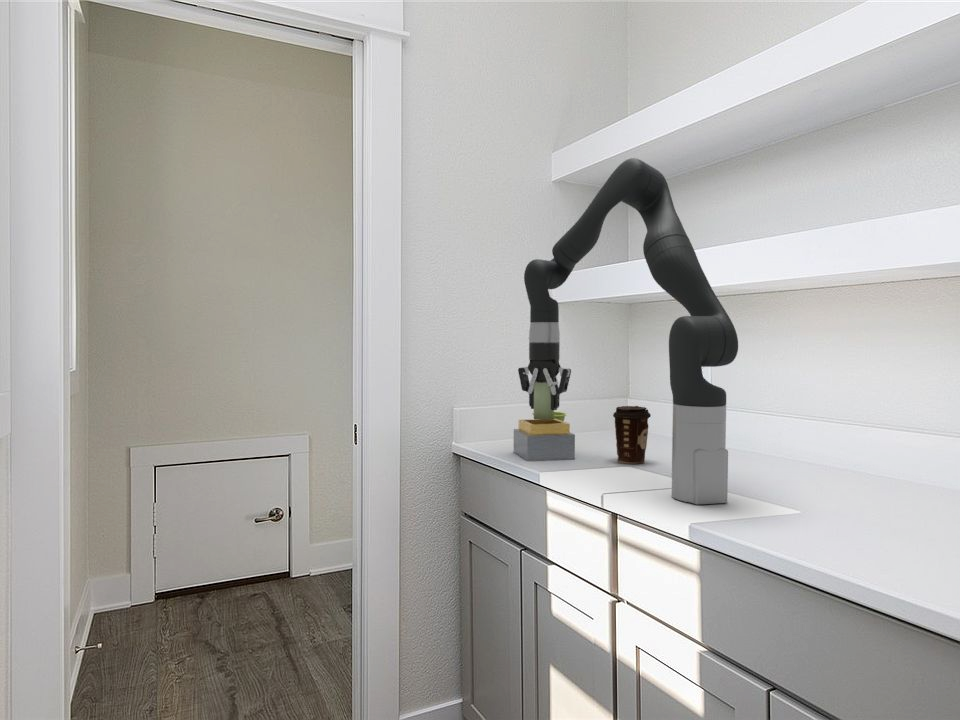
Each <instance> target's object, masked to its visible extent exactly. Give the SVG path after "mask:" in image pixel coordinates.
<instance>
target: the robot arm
mask: <svg viewBox="0 0 960 720" xmlns="http://www.w3.org/2000/svg"><path fill="white" fill-rule="evenodd" d="M621 202H622V203H624V204H626V205H628V206H629V207H631V208H633V209H634V210H636V211H637V212H638V213H639V215H640V216H641V218H642V221H643V222H644V225H645V228H646V231H647V232H646V234H645V236H644V237H645V238H644V241H643V245H642V248H643V249H642V250H643V256H644V259H645V262H646V264H647V267H648V269H649V272H650V275H651V276H652V279H653V280H654V281H655V282H656V284H657V285H658V286H659V287H660V288H661V289H662V290H663V291H664V292H666V294H668V295H670V297H672V298H673V299H674V300H675V301H677V302H678V303H679V304H680V305H682V307H684V308H685V310H686V311H687V312H688V313H689V315H684V316H680V317H677V318H676V319H675V320H674V321H673V323H672V325H671V327H670V331H669V334H668V335H669V336H668V359H669V360H668V361H669V384H670V389H671V394H672V429H671V430H672V433H671V435H672V436H671V437H672V439H671V441H672V444H671V445H672V446H671V447H672V449H671V451H672V452H671V497H672V498H673V499H675V500H678V501H681V502H685V503H691V504H694V505H710V504H711V505H712V504H727V503H728V499H729V498H728V496H729V495H728V492H729V491H728V486H729V485H728V484H729V483H728V479H729V473H728V472H729V451H728V449H727V448H726V447H727V446H726V445H727V443H726V441H727V439H726V437H727V434H726V433H727V392H726V390H725V389H724V388H723V387H721V386H717V385H715V384H713V383H710V382H709V381H708V380H707V379H706V378H705V377H704V376H703V369H702V368H704V367H705V368H706V367H707V368H708V367H709V368H715V367H723V366H728V365H730V364H732V363H733V362H734V361H735V359H736V357H737V355H738V352H739V338H738V334H737V331H736V328H735V325H734V324H733V322H732V320H731V318H730V316H729V315H728V313H727V311H726V309H725V308H724V307H723V305H722V303H721V302H720V300H719V298H718V297H717V295H716V293H715V291H714V290H713V288H712V286H711V284H710V282H709V280H708V279H707V276H706V273H705V272H704V270H703V268H702V266H701V263H700V261H699V259H698V256H697V253H696V251H695V249H694V246H693V245H692V242H691V241H690V238H689V236H688V234H687V233H686V230H685V228H684V226H683V224H682V221H681V219H680V218H679V215H678V213H677V211H676V209H675V205H674V201H673V198H672V195H671V192H670V188H669V184H668V181H667V179H666V177H665V175H664V174H663V173H662V172H661V171H659V169H657V168H655V167H653V166H652V165H650V164H648V163H646V162H645V161H643V160H642V159H639V158H635V157H633V158H631V157H630V158H628V159H626V160H623V161H622V163H620V164H619V165H618V166H617V167H616V168H615V169H614V170H613V172H612V173H611V174H610V175H609V177H608V178H607V180H606V181H605V182H604V184H603V186H602V187H601V188H600V189H599V191H598V192H597V194H596V195H595V196H594V197H593V199H592V201H591V203H589V204H588V206H587V208H586V209H585V211H584V212H583V213H582V215H581V216H580V217H579V218H578V220H577V221H576V222H575V223H574V224H573V225H572V226H571V227H570V228H569V230H568V231H566V232H565V233H564V234H563V236H561V237H560V238H559V239H558V240H557V241H556V243H555V244H554V246H553V247H552V250H551V251H552V252H551V253H552V256H553V258H552V259H551V260H545V259H540V258H539V259H538V258H537V259H536V258H535V259H532V260H531V261H530V262H528V264H527V265H526V267H525V270H524V272H523V279H524V286H525V290H526V295H527V299H528V303H529V306H530V315H529V319H530V320H529V330H528V331H529V332H528V334H529V335H528V343H529V344H528V360H529V363H528V366H524V367H518V369H517V371H518V372H517V373H518V377H519V381H520V386H521V390H522V391H523V392H526V393H528V405H529V407H530V409H532V410H534V383H535V382H542V381H544V382H547V383H548V386H550V389H551V392H552V394H553V395H551V410H554V411H557V410H558V408H559V407H560V395H561V394H563V393H566V392H567V390H568V386H569V383H570V382H569V381H570V378H571V375H572V370H571V368H565V367H561V364H560V345H561V343H560V335H561V334H560V325H559V324H560V323H559V320H560V319H559V317H560V314H559V311H560V308H559V307H560V306H559V302H558V301H557V300H556V299H554V298H553V297H551V295H550V291H549V290H555V289H557V288H559V287H561V286H562V285H563V284H565V282H566V281H567V280H568V278H569V276H570V275H571V273H572V272H573V270H574V268H575V266H576V265H577V264H578V263H579V262H580V261H581V260H582V259H584V257H586V255H588V254H589V253H590V252H591V250H592V249H594V247H595V246H596V244H597V243H598V240H599V238H600V235H601V233H602V228H603V225H604V222H605V220H606V218H607V216H608V214H609V213H610V211H611V210H613V208H615V207H616V206H617V205H619V203H621ZM529 374H531V379H530V378H529ZM558 374H559V376H560V381H558V378H557V376H558Z"/></svg>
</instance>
